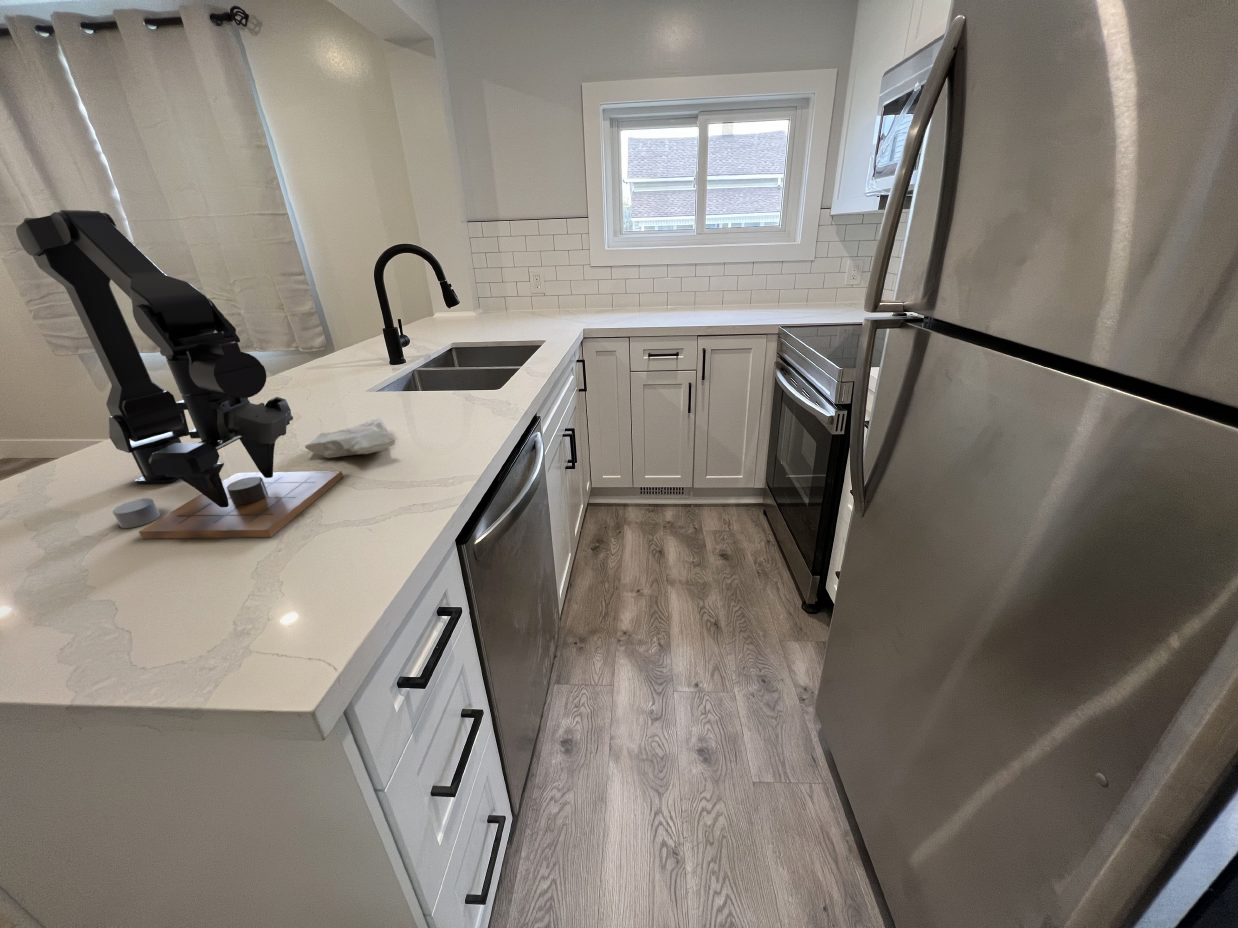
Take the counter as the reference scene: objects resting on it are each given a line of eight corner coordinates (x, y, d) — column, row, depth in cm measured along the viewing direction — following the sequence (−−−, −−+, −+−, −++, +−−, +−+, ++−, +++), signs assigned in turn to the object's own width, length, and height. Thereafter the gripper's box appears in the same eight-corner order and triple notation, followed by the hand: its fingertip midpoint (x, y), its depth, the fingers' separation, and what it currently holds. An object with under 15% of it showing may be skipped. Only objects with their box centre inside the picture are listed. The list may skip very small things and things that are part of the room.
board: (142, 538, 67) (138, 531, 66) (239, 479, 83) (236, 472, 83) (271, 537, 66) (267, 529, 66) (343, 477, 82) (341, 470, 82)
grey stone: (111, 528, 70) (103, 513, 69) (139, 512, 74) (132, 498, 73) (141, 528, 70) (133, 513, 69) (168, 512, 74) (161, 497, 73)
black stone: (225, 504, 72) (219, 490, 71) (246, 490, 76) (241, 476, 75) (254, 504, 72) (248, 489, 71) (274, 490, 76) (269, 476, 75)
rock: (304, 484, 81) (400, 457, 86) (293, 458, 79) (391, 432, 84) (319, 448, 99) (397, 428, 104) (310, 426, 98) (389, 407, 102)
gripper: (211, 410, 58) (256, 524, 65) (306, 370, 75) (335, 463, 82) (120, 412, 59) (175, 525, 65) (236, 372, 76) (270, 465, 82)
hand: (248, 491), depth 74 cm, fingers open, 9 cm apart
